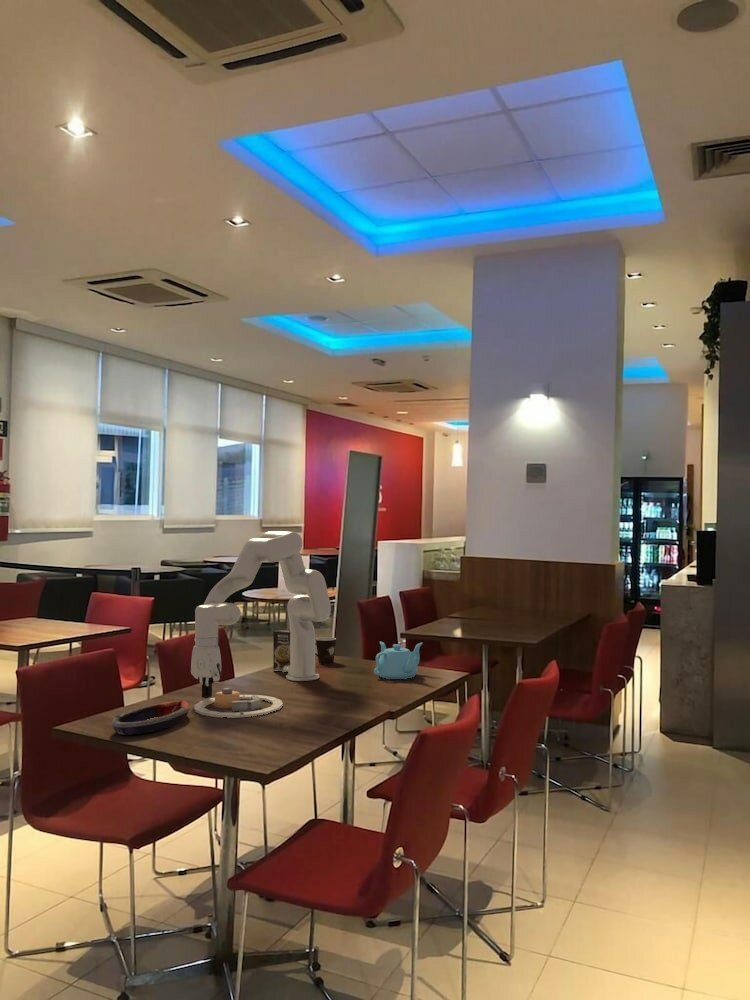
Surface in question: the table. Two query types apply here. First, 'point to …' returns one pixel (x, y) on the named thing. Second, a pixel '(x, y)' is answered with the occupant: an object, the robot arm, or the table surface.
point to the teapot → (397, 662)
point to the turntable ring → (276, 706)
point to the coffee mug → (325, 649)
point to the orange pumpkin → (226, 698)
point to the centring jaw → (247, 704)
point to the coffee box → (281, 649)
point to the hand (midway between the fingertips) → (206, 697)
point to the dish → (138, 717)
